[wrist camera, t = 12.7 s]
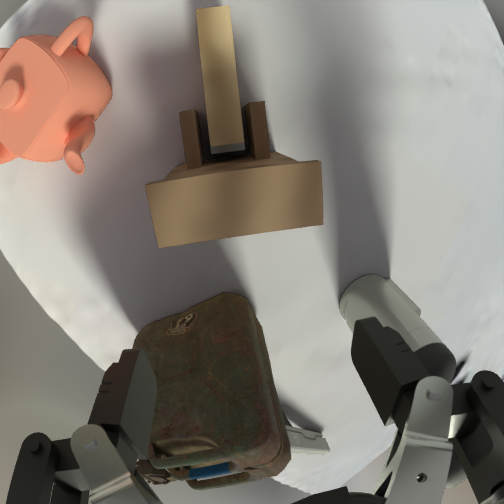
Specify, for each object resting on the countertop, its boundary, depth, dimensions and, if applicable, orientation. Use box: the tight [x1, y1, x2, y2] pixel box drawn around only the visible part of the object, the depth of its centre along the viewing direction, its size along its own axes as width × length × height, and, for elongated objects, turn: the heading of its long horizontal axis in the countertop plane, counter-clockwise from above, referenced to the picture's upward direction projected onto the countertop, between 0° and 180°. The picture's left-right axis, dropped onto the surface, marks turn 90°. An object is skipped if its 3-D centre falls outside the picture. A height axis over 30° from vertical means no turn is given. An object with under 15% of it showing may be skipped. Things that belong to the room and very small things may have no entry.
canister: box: [132, 293, 291, 490], centre depth 33 cm, size 19×8×25 cm, turn 114°
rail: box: [196, 6, 245, 154], centre depth 28 cm, size 4×17×5 cm, turn 6°
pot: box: [0, 16, 112, 175], centre depth 22 cm, size 18×17×12 cm
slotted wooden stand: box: [145, 101, 323, 248], centre depth 27 cm, size 13×10×15 cm
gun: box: [281, 410, 330, 455], centre depth 55 cm, size 2×25×10 cm, turn 38°
